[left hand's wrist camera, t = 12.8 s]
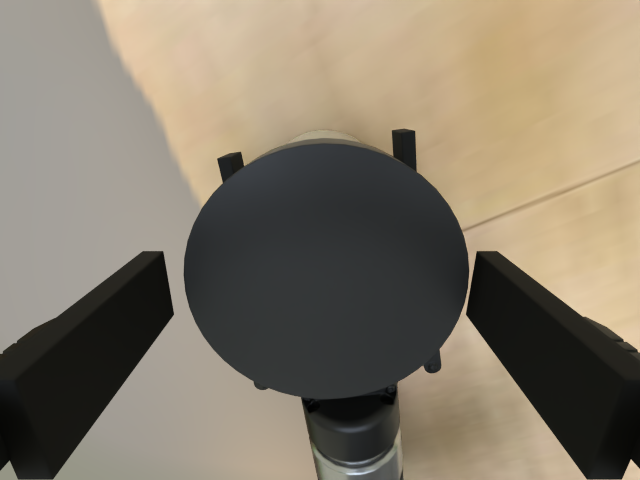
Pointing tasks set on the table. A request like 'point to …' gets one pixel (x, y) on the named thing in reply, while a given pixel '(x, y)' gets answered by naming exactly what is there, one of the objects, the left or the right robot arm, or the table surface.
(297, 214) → the lid
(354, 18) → the table surface
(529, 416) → the table surface
